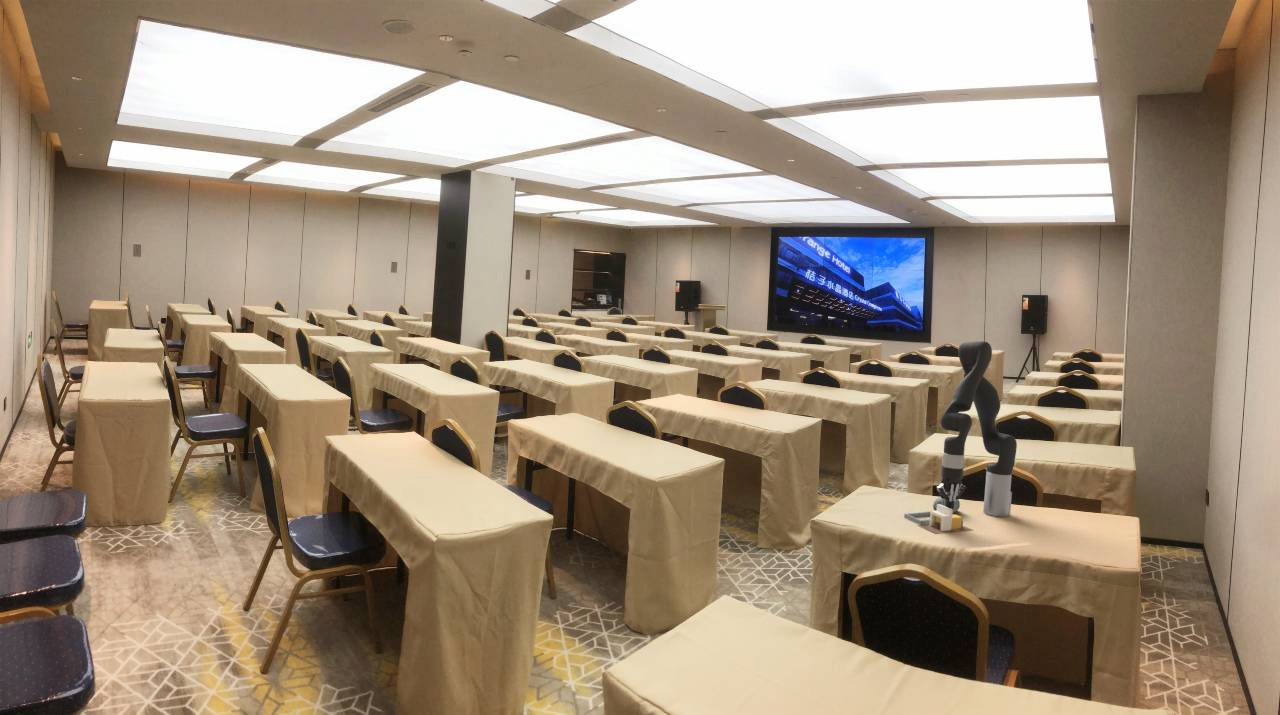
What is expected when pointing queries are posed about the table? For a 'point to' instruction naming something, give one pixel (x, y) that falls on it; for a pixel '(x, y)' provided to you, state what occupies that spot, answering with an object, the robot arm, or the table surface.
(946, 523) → the white stepped block
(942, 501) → the streaked grey-blue ovoid
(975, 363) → the robot arm
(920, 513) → the tray
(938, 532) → the clamp board
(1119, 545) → the table surface
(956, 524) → the yellow rectangular block
